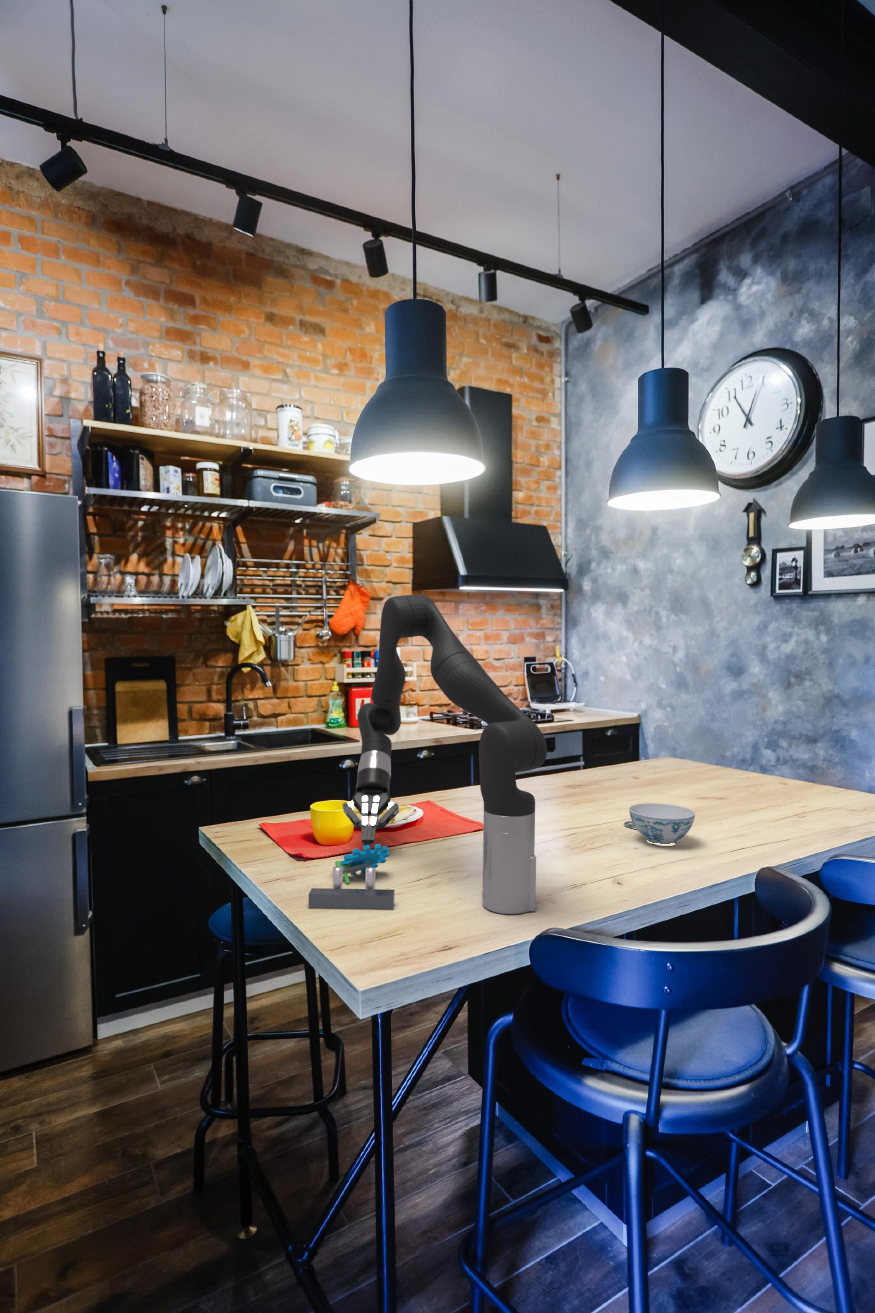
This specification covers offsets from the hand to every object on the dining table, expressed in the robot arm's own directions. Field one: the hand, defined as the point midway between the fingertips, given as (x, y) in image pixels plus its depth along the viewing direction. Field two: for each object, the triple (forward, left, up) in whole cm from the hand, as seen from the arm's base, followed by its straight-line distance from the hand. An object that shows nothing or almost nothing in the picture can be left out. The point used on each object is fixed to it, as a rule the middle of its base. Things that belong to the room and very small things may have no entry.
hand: (367, 844), depth 152 cm
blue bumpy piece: (0, +9, -5) cm, 10 cm away
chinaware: (-68, -20, -4) cm, 71 cm away
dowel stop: (0, +22, -4) cm, 22 cm away
